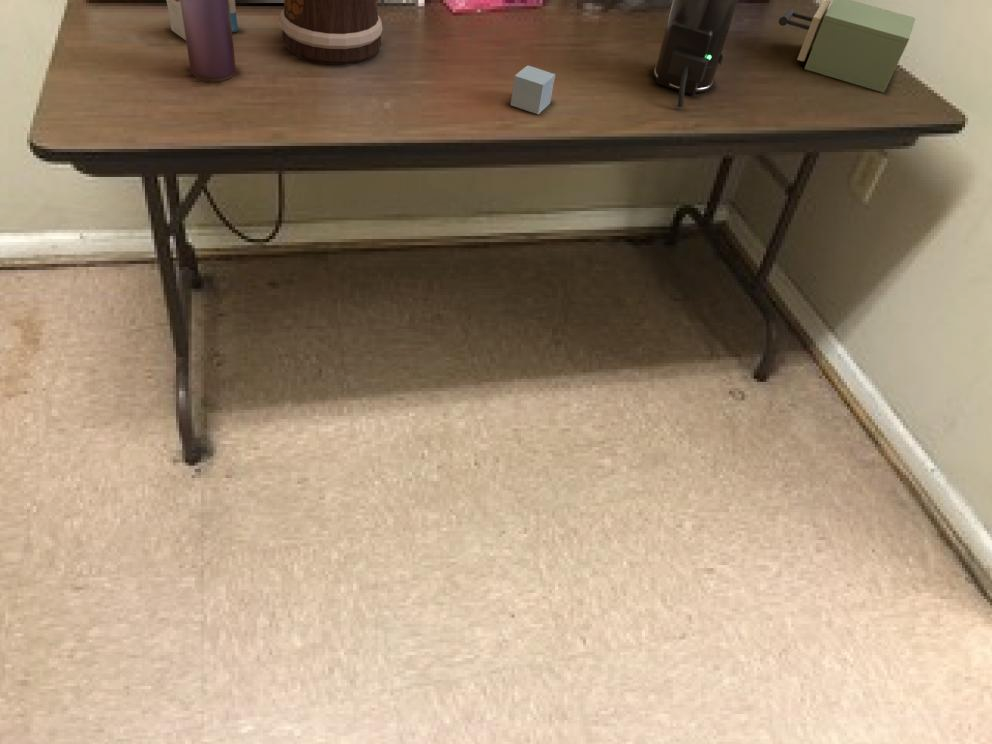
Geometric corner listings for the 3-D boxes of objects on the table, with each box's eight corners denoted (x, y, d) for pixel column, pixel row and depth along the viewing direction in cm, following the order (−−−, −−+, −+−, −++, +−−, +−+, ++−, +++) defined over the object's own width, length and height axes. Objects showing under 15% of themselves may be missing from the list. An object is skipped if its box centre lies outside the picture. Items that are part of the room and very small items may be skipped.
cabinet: (804, 69, 140) (825, 15, 133) (815, 47, 148) (836, -5, 141) (883, 92, 136) (909, 38, 130) (891, 69, 144) (915, 17, 138)
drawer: (766, 50, 141) (781, 7, 136) (778, 32, 148) (793, -9, 143) (870, 81, 137) (889, 38, 132) (877, 61, 144) (896, 19, 139)
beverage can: (224, 86, 110) (211, -31, 100) (182, 77, 111) (165, -40, 100) (243, 69, 115) (232, -45, 104) (203, 60, 115) (188, -54, 105)
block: (538, 114, 116) (543, 84, 113) (510, 105, 117) (514, 75, 114) (550, 103, 119) (555, 74, 116) (523, 94, 120) (527, 65, 117)
